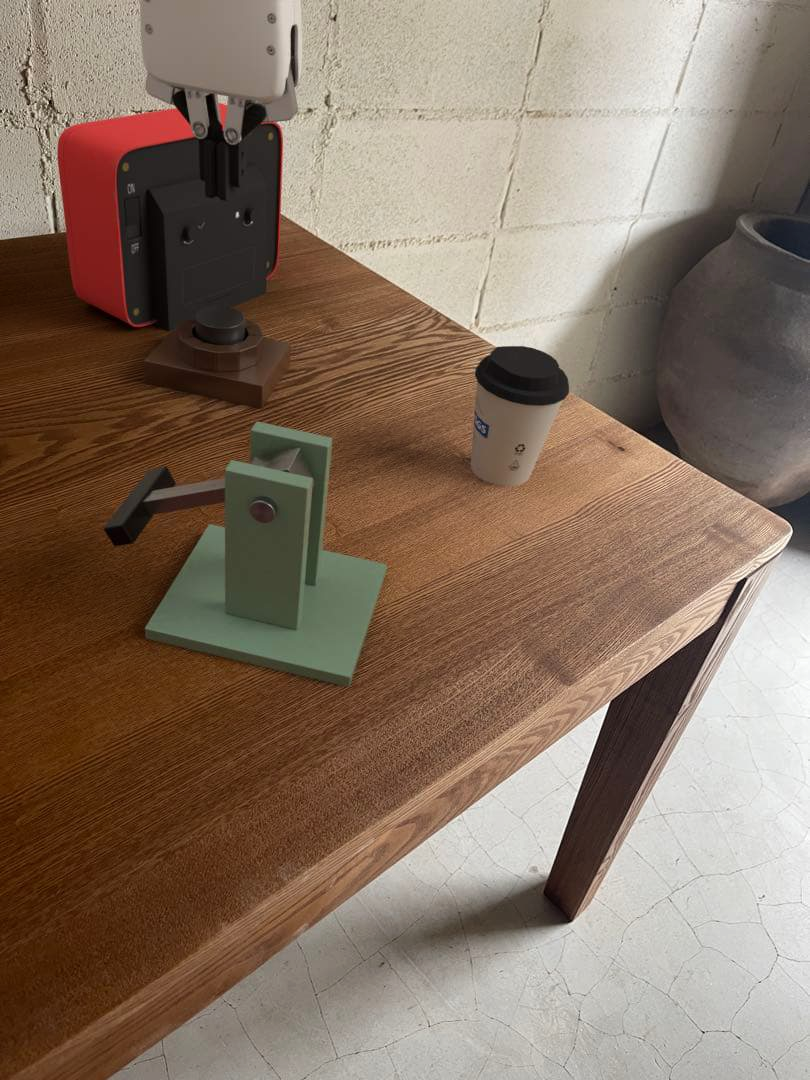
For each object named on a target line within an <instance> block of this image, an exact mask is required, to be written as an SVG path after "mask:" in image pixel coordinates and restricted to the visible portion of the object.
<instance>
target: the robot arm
mask: <svg viewBox="0 0 810 1080" xmlns="http://www.w3.org/2000/svg"><path fill="white" fill-rule="evenodd" d="M139 21H140V44H141V54H142V62H143V66H144V69H145V71H146V73H147V74H146V80H145V90H146V93H147V94H148V95H149V96H150V97H153V98H154V99H155V98H156V99H157V100H160V101H161V102H164V103H166V104H169V105H172V106H173V107H174V108H177V109H178V110H179V112H180V113H181V114H182V115H183V117H184V118H185V119H186V120H187V122H188V123H189V124H190V125H191V130H192V133H193V135H194V136H195V137H196V138H198V139H199V169H200V179H201V180H202V181H205V196H206V197H208V198H215V197H218V198H220V200H223V201H228V200H229V199H231V198H232V197H233V196H234V195H235V194H236V193H237V192H239V190H240V188H242V187H243V186H244V184H245V180H246V137H247V136H248V135H250V134H251V132H253V131H254V130H255V129H256V128H257V127H258V126H259V125H260V124H261V123H264V122H275V123H277V122H288V121H291V120H292V119H293V118H295V117H296V116H297V115H298V113H299V105H298V100H297V99H298V98H297V94H296V89H295V88H297V87H298V86H299V84H300V82H301V77H302V70H303V69H302V68H303V28H302V27H303V25H302V24H303V23H302V22H303V21H302V0H139ZM218 96H223V97H227V103H226V105H227V110H226V118H225V126H224V131H223V126H222V124H221V117H220V110H219V103H220V102H219V97H218Z"/></svg>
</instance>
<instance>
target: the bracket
mask: <svg viewBox="0 0 810 1080" xmlns="http://www.w3.org/2000/svg"><path fill="white" fill-rule="evenodd" d="M333 440H334V439H333V437H330V436H326V435H322V434H316V433H312V432H307V431H303V430H298V429H294V428H289V427H285V426H280V425H275V424H271V423H266V422H262V421H255V423H254V424H253V425H252V427H251V429H250V442H249V443H250V445H249V463H247V462H243V461H240V460H239V461H238V460H234V459H231V460H230V461H229V463H228V464H227V466H226V467H225V469H224V478H225V503H224V526H220V525H216V524H212V523H208V525H207V527H206V529H205V530H204V531H203V533H202V535H201V536H200V538H199V540H198V541H197V543H196V544H195V546H194V548H193V549H192V551H191V553H190V554H189V556H188V557H187V559H186V561H185V562H184V564H183V565H182V567H181V569H180V570H179V572H178V574H177V575H176V577H175V578H174V580H173V581H172V583H171V585H170V586H169V588H168V590H167V591H166V593H165V595H164V597H163V598H162V599H161V601H160V602H159V604H158V606H157V608H156V609H155V611H154V613H153V614H152V616H151V617H150V619H149V621H148V622H147V624H146V625H145V627H144V634H145V635H144V636H145V639H147V640H150V641H155V642H159V643H163V644H168V645H172V646H175V647H180V648H183V649H188V650H191V651H192V650H193V651H197V652H201V653H205V654H209V655H213V656H218V657H221V658H225V659H230V660H233V661H238V662H242V663H247V664H251V665H254V666H259V667H263V668H267V669H272V670H276V671H280V672H284V673H288V674H291V675H297V676H300V677H305V678H309V679H313V680H318V681H322V682H327V683H331V684H333V685H338V686H343V687H347V688H350V687H351V683H352V680H353V677H354V674H355V671H356V668H357V664H358V661H359V659H360V655H361V653H362V649H363V647H364V644H365V641H366V637H367V633H368V631H369V628H370V625H371V622H372V620H373V619H372V618H373V615H374V612H375V609H376V607H377V603H378V599H379V598H380V594H381V590H382V588H383V584H384V581H385V578H386V575H387V570H388V564H386V563H382V562H378V561H374V560H369V559H365V558H360V557H356V556H351V555H348V554H343V553H340V552H339V553H338V552H334V551H331V550H326V549H325V550H324V549H323V546H324V536H325V525H326V515H327V505H328V494H329V482H330V471H331V462H332V461H331V460H332V452H333V451H332V449H333V442H334V441H333ZM294 448H300V449H301V451H302V454H303V456H304V458H305V460H306V463H307V465H308V467H309V470H310V472H311V474H312V476H313V478H310V477H306V476H301V475H297V474H293V473H288V472H284V471H279V470H275V469H270V468H266V467H261V466H257V465H252V464H250V463H251V462H252V460H253V459H254V457H255V456H258V455H263V454H268V453H273V452H279V451H284V450H289V449H294ZM313 479H314V481H315V485H314V487H313V489H312V484H313Z"/></svg>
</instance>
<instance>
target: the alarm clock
mask: <svg viewBox="0 0 810 1080" xmlns="http://www.w3.org/2000/svg"><path fill="white" fill-rule="evenodd" d="M218 103H219V110H220V117H221V124H222V126H223V131H224V126H225V118H226V110H227V104H224V103H221V102H218ZM56 148H57V149H56V150H57V151H56V152H57V168H58V175H59V185H60V191H61V202H62V207H63V217H64V224H65V226H64V227H65V234H66V243H67V251H68V259H69V267H70V268H69V269H70V274H71V275H70V276H71V281H72V287H73V290H74V292H75V295H76V296H77V297H78V299H80V300H82V301H83V302H85V303H87V304H89V305H91V306H93V307H95V308H97V309H99V310H101V311H102V312H105V313H107V314H109V315H111V316H113V317H114V318H115V319H116V318H117V319H118V320H120V321H122V322H124V323H126V324H128V325H130V326H132V327H135V328H142V327H146V326H150V325H153V324H154V325H156V326H158V327H160V328H162V329H163V330H165V331H168V332H171V331H172V330H173V329H174V328H175V327H176V326H177V325H178V324H179V323H180V322H181V321H182V320H183V321H184V320H185V319H187V318H191V317H194V316H195V315H196V313H197V312H198V311H199V310H201V309H203V308H206V307H212V306H223V307H229V308H233V307H235V306H237V305H240V304H244V303H246V302H248V301H250V300H253V299H255V298H258V297H261V296H264V295H265V294H267V280H269V279H270V278H271V277H273V275H274V274H275V272H276V270H277V268H278V263H279V258H280V242H281V241H280V239H281V237H280V236H281V217H282V216H281V214H282V213H281V212H282V185H283V158H284V136H283V130H282V127H281V126H280V124H279V123H277V122H264V123H261V124H260V125H259V126H258V127H257V128H256V129H255V130H254V131H253V132H251V134H250V135H248V136H247V137H246V180H245V184H244V186H243V187H242V188H240V190H239V192H237V193H236V194H235V195H234V196H233V197H232V198H231V199H229V200H228V201H223V200H220V198H218V197H215V198H208V197H206V196H205V181H202V180H201V179H200V169H199V139H198V138H196V137H195V136H194V135H193V133H192V130H191V125H190V124H189V123H188V122H187V120H186V119H185V118H184V117H183V115H182V114H181V113H180V112H179V110H178V109H177V108H176V107H173V108H168V109H161V110H155V111H148V112H142V113H136V114H130V115H123V116H118V117H112V118H105V119H100V120H99V119H98V120H94V121H87V122H81V123H77V124H74V125H71V126H69V127H67V128H65V129H64V130H63V131H62V132H61V133H60V135H59V137H58V141H57V147H56Z"/></svg>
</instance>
